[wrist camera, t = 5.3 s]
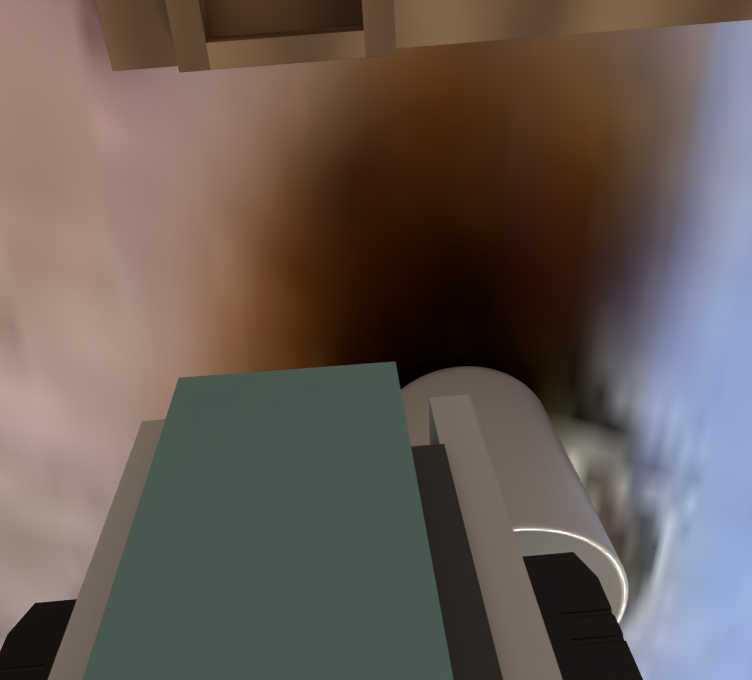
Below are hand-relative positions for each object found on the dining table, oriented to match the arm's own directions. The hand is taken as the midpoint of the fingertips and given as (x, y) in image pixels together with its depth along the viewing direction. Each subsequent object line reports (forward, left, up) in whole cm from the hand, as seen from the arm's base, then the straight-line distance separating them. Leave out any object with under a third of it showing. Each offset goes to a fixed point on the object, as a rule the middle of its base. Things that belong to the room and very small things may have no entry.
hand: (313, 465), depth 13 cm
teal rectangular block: (0, 0, 0) cm, 1 cm away
